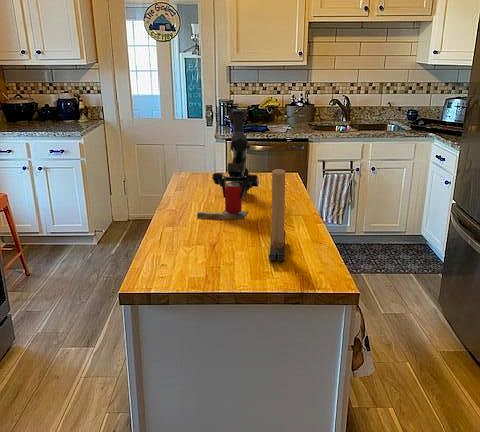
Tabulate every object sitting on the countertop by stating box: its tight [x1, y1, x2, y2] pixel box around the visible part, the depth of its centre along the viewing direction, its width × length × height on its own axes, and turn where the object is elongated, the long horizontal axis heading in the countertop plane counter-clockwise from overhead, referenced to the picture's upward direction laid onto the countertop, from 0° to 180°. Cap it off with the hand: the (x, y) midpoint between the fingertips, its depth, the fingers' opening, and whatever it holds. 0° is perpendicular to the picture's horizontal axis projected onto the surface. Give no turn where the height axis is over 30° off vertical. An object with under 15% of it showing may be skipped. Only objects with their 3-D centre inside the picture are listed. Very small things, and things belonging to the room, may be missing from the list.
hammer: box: [268, 168, 286, 262], centre depth 154 cm, size 20×5×30 cm, turn 174°
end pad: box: [222, 209, 249, 220], centre depth 198 cm, size 10×9×1 cm
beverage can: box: [224, 181, 243, 214], centre depth 195 cm, size 7×7×12 cm
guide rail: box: [196, 211, 237, 221], centre depth 193 cm, size 16×2×2 cm, turn 77°
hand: (232, 197), depth 194 cm, fingers closed on beverage can, 6 cm apart
